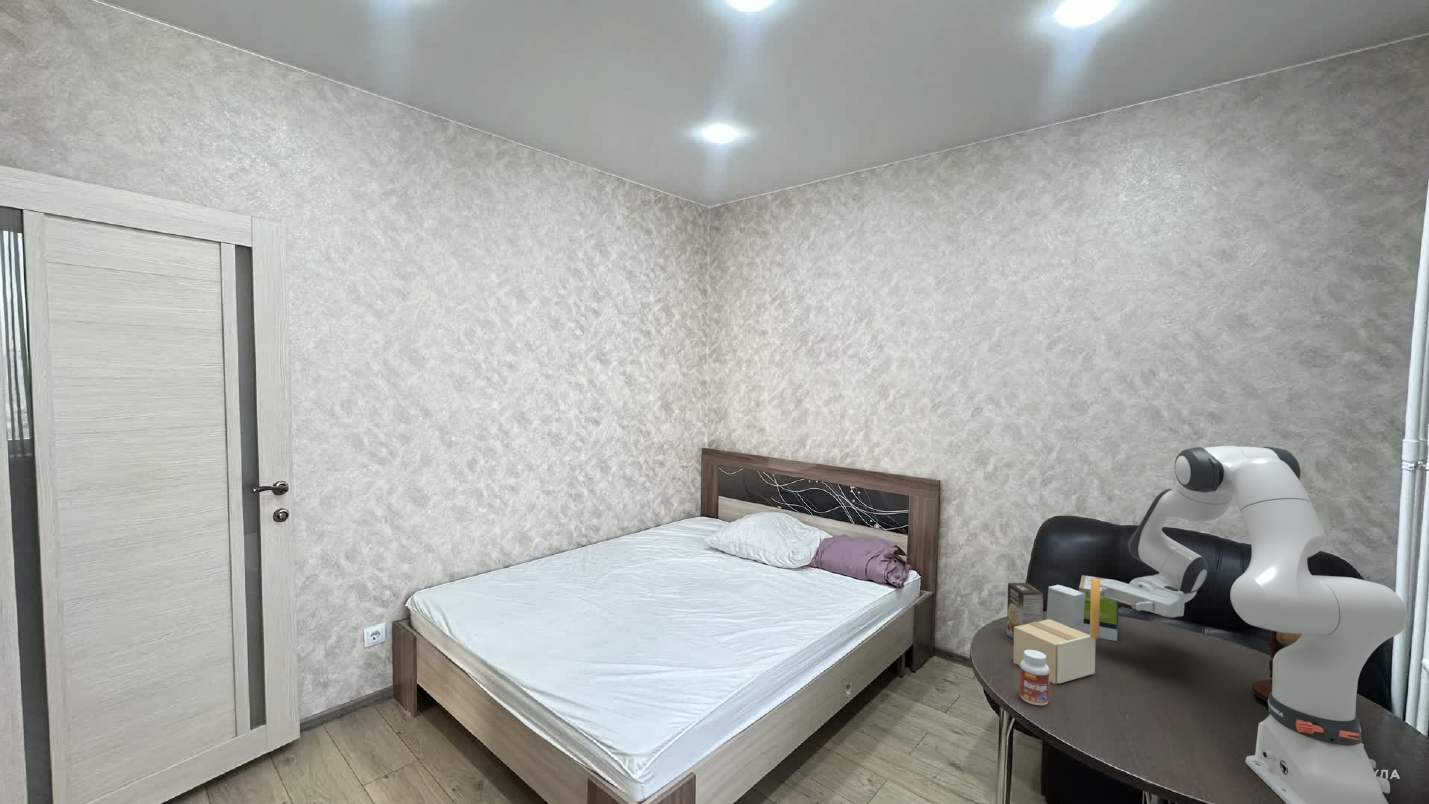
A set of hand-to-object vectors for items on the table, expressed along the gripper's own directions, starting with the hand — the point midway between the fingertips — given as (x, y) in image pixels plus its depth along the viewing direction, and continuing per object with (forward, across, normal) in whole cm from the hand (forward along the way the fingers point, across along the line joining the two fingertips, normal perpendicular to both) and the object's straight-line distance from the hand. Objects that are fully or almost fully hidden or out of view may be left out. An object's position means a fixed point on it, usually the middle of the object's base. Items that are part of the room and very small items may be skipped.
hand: (1115, 600), depth 152 cm
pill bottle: (+33, +2, +19) cm, 38 cm away
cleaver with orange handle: (+14, 0, +18) cm, 23 cm away
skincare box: (-7, -19, +19) cm, 28 cm away
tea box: (-23, -19, +19) cm, 35 cm away
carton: (+14, -8, +19) cm, 25 cm away
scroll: (-22, +28, +19) cm, 40 cm away
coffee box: (+6, -22, +19) cm, 30 cm away
